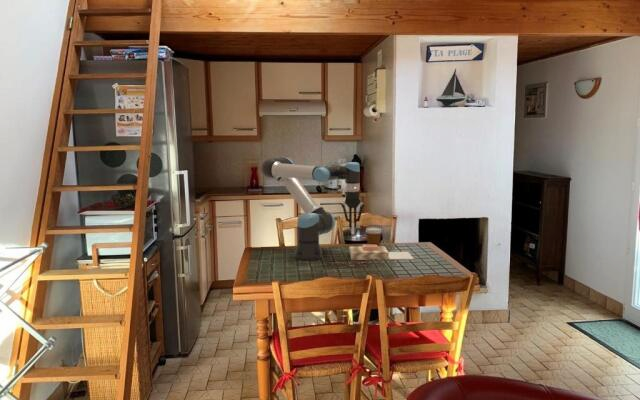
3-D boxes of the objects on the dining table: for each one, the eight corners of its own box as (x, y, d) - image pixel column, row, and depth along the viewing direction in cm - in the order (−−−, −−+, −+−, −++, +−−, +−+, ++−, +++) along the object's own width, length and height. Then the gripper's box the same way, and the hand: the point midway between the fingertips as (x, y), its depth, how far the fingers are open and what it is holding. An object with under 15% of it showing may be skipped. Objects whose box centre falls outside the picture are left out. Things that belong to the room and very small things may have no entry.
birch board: (351, 259, 258) (351, 252, 257) (349, 253, 271) (349, 246, 271) (388, 259, 258) (388, 252, 257) (384, 253, 272) (384, 246, 271)
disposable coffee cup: (378, 251, 275) (378, 231, 274) (363, 249, 279) (363, 229, 278) (383, 248, 284) (384, 228, 282) (368, 246, 288) (368, 226, 286)
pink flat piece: (363, 250, 261) (363, 247, 261) (362, 248, 267) (362, 244, 267) (378, 250, 261) (378, 247, 261) (376, 248, 267) (376, 244, 267)
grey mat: (389, 259, 257) (389, 258, 257) (385, 252, 272) (385, 251, 272) (413, 259, 258) (413, 258, 258) (408, 252, 273) (408, 251, 272)
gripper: (341, 191, 256) (341, 235, 259) (365, 191, 256) (365, 235, 259) (340, 190, 263) (340, 232, 266) (364, 190, 263) (363, 232, 266)
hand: (352, 233), depth 263 cm, fingers closed
